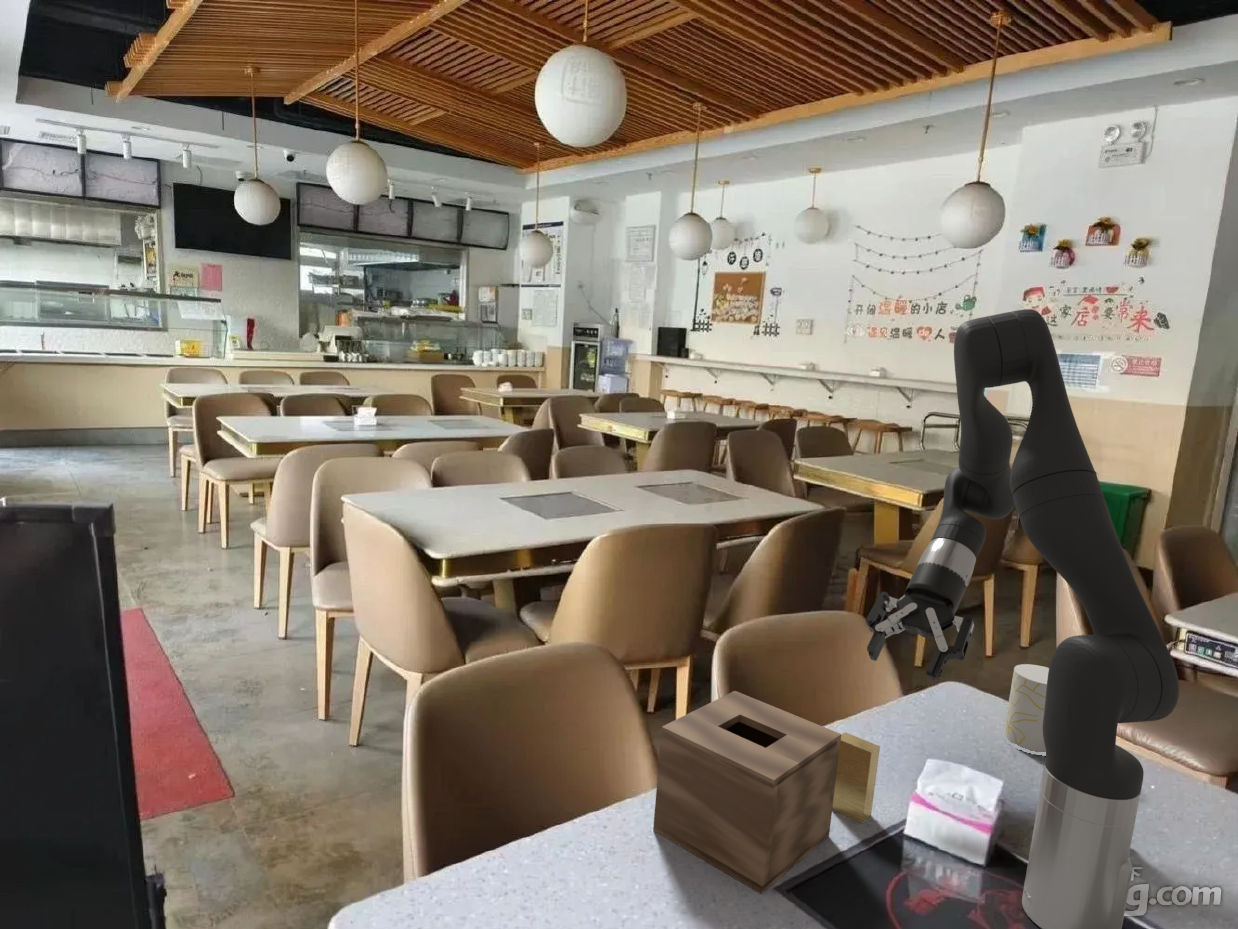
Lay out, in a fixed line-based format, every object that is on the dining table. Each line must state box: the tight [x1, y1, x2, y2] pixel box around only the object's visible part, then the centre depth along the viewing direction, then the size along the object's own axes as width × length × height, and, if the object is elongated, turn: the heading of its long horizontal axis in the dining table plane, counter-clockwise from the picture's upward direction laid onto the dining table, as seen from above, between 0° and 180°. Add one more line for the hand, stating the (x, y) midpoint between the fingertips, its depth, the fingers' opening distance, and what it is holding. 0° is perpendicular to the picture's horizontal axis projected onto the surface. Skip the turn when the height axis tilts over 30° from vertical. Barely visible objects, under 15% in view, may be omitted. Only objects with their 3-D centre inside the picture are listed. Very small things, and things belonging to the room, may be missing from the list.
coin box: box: [652, 690, 842, 895], centre depth 102 cm, size 16×16×14 cm
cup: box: [1003, 663, 1049, 752], centre depth 132 cm, size 8×8×12 cm
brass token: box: [832, 731, 881, 824], centre depth 109 cm, size 3×5×10 cm, turn 48°
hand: (900, 667), depth 116 cm, fingers open, 8 cm apart
